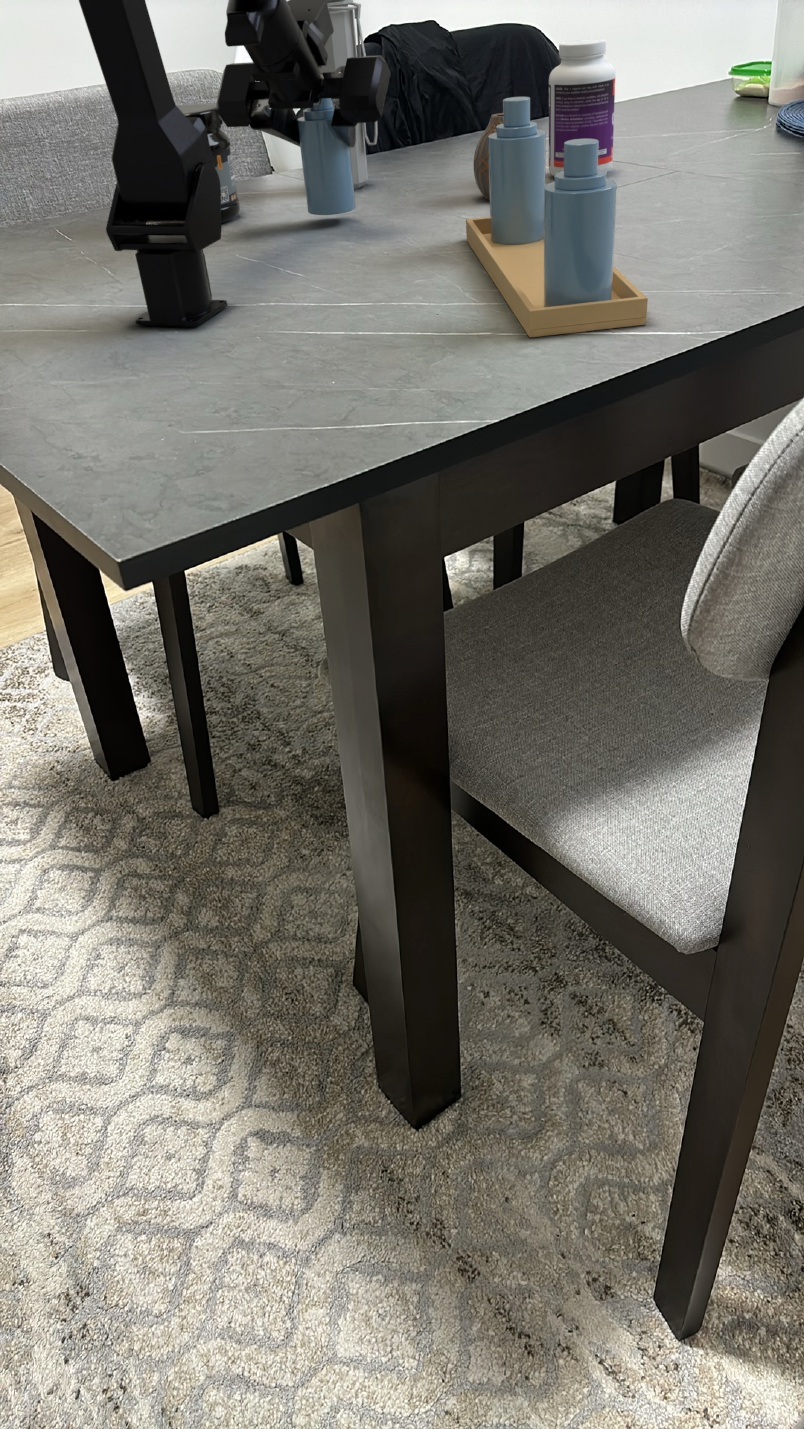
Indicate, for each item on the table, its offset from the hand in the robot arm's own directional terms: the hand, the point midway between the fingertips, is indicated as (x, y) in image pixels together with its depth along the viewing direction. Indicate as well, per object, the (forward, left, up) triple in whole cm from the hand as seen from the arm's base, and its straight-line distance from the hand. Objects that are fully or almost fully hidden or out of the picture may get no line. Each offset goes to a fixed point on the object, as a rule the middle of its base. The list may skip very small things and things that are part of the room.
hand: (330, 144), depth 118 cm
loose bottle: (-1, 0, -7) cm, 7 cm away
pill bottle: (+23, -24, -8) cm, 34 cm away
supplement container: (0, +19, -8) cm, 20 cm away
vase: (+11, -17, -8) cm, 22 cm away
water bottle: (+18, +6, -8) cm, 20 cm away
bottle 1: (-11, -25, -7) cm, 28 cm away
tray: (-23, -30, -8) cm, 39 cm away
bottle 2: (-35, -36, -7) cm, 50 cm away
